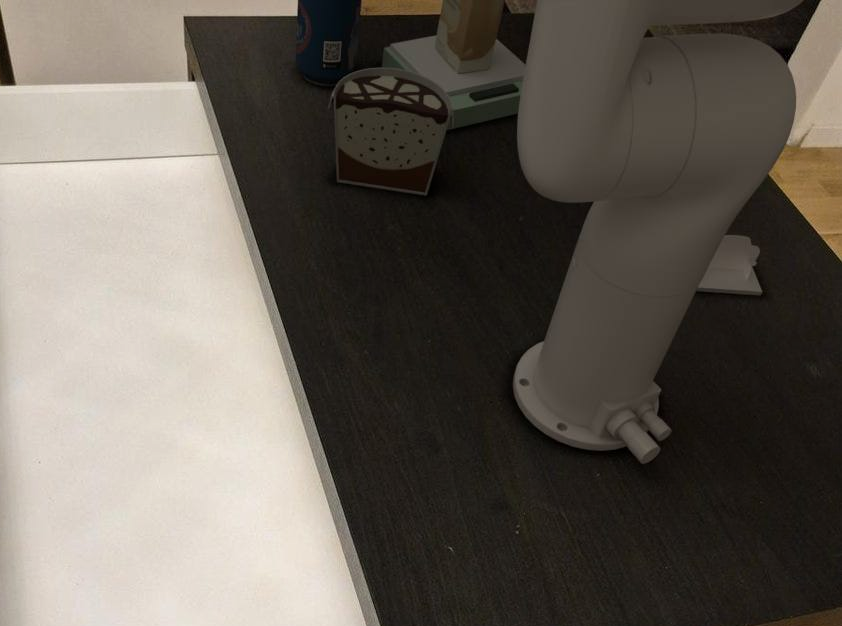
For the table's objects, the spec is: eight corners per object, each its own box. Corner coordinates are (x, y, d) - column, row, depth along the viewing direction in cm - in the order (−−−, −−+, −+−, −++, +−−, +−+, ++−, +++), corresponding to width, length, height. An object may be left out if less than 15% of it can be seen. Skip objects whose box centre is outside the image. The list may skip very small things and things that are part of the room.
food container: (444, 163, 102) (460, 75, 94) (441, 197, 98) (457, 109, 90) (330, 145, 101) (336, 56, 93) (322, 179, 98) (328, 89, 90)
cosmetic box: (433, 47, 110) (450, -65, 101) (465, 42, 112) (485, -68, 102) (458, 76, 107) (479, -37, 97) (491, 71, 109) (515, -40, 99)
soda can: (291, 56, 111) (295, -51, 102) (349, 57, 113) (358, -49, 103) (299, 89, 107) (303, -19, 98) (359, 89, 109) (369, -18, 99)
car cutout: (743, 251, 98) (761, 215, 94) (760, 295, 94) (780, 259, 90) (601, 241, 96) (615, 204, 93) (613, 285, 92) (627, 248, 89)
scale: (544, 107, 111) (550, 83, 108) (443, 131, 105) (448, 106, 103) (479, 47, 118) (483, 23, 115) (381, 67, 112) (384, 42, 110)
